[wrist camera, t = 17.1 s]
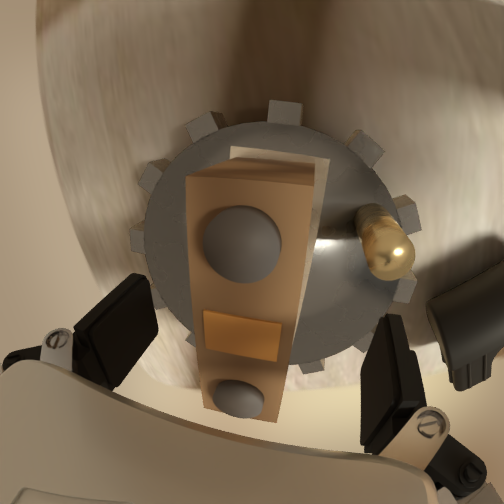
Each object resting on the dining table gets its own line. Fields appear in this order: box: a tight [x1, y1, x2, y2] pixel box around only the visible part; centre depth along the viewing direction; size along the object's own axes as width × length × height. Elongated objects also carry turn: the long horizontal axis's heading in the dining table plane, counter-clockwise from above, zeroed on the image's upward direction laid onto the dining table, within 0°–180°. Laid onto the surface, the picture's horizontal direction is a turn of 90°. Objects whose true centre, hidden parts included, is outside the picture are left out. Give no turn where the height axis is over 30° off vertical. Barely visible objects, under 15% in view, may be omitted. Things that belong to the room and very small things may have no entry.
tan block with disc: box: [186, 157, 315, 423], centre depth 13 cm, size 4×12×7 cm, turn 177°
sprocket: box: [130, 100, 422, 374], centre depth 15 cm, size 18×18×6 cm
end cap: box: [426, 260, 504, 391], centre depth 15 cm, size 10×7×7 cm
